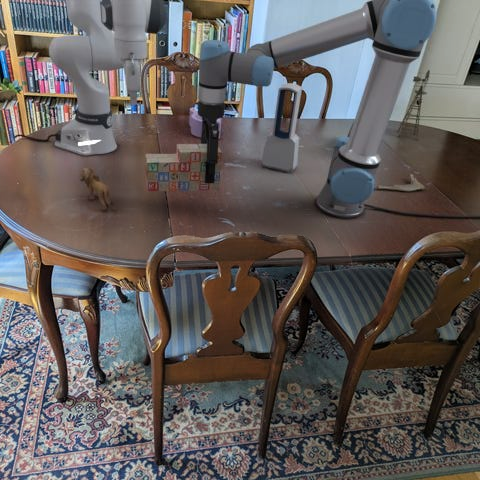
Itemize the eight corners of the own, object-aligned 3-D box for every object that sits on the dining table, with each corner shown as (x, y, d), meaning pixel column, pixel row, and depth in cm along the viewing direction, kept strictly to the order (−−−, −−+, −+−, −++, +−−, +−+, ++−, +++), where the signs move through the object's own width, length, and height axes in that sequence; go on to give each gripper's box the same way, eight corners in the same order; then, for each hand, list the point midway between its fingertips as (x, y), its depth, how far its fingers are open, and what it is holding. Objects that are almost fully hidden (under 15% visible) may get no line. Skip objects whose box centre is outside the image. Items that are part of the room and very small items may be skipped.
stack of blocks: (147, 192, 135) (146, 152, 129) (145, 182, 140) (145, 143, 134) (219, 190, 140) (222, 151, 134) (215, 180, 145) (218, 143, 139)
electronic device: (296, 166, 177) (310, 86, 161) (292, 174, 171) (306, 91, 154) (265, 160, 180) (276, 80, 163) (259, 167, 174) (270, 85, 157)
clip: (182, 123, 206) (183, 107, 202) (209, 122, 210) (210, 106, 207) (197, 140, 191) (197, 123, 187) (225, 138, 195) (226, 122, 191)
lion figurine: (77, 195, 143) (74, 168, 138) (92, 190, 146) (90, 163, 142) (107, 213, 136) (105, 185, 131) (122, 207, 139) (120, 180, 134)
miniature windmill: (417, 139, 216) (437, 73, 200) (398, 137, 217) (417, 70, 201) (414, 133, 223) (434, 68, 207) (397, 130, 224) (415, 66, 208)
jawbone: (429, 189, 172) (431, 184, 171) (394, 201, 161) (396, 196, 160) (410, 177, 177) (412, 172, 176) (375, 189, 167) (376, 184, 165)
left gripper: (145, 58, 123) (146, 110, 130) (140, 43, 139) (141, 90, 147) (120, 57, 121) (123, 110, 129) (118, 42, 138) (120, 90, 145)
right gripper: (232, 112, 121) (226, 191, 134) (218, 91, 137) (213, 164, 149) (204, 112, 120) (200, 192, 132) (192, 90, 135) (190, 164, 148)
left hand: (132, 99), depth 138 cm, fingers open, 8 cm apart
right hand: (207, 177), depth 141 cm, fingers closed on stack of blocks, 6 cm apart
